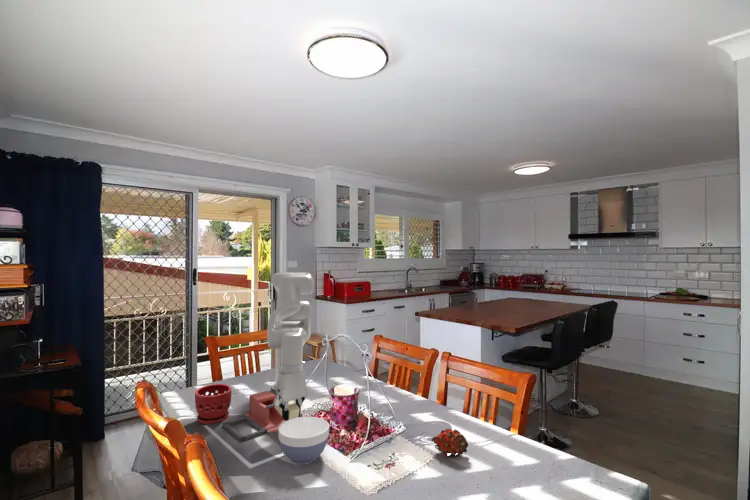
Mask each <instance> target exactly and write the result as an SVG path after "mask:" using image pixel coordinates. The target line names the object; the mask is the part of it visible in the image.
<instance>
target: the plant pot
mask: <svg viewBox="0 0 750 500" xmlns="http://www.w3.org/2000/svg"><path fill="white" fill-rule="evenodd" d="M207 393H208V394H207ZM231 402H232V387H231V385H228V384H224V383H223V384H222V383H215V384H208V385H204V386H201V387H199V388H197V390H195V393H194V403H195V405H194V406H195V409H196V412H197V414H198V415H197V416H196V420H197V421H198V422H199V424H202V425H207V424H215V423H219V422H220V423H221V422H222V421H223V422H224V421H225V420H226V419H228V418H229V416H230V411H229V409H230V406H231Z"/></svg>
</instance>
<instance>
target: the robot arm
mask: <svg viewBox="0 0 750 500" xmlns="http://www.w3.org/2000/svg"><path fill="white" fill-rule="evenodd" d="M271 284H272V286H273V287H274V290H275V291H276V294H277V307H276V309H274V310H273V312H272V313H271V315H270V317H269V319H268V321H267V330H266V331H267V336H266V337H267V338H266V339H267V345H268V347H269V348H271V349H273V350H275V373H274V374H275V377H274V378H275V379H274V381H275V382H274V383H273V384H272V386H271V389H272V390H274V391H275V395H276V398H275V400H274V402H273V404H275V405H277V406H279V407H280V408H282V418H283V419H284V420H285V421H287V420H289V410H287V409H288V403H289V401H292V400H293V401H294V402H295V403H296V405H297V406H298V407H299V408H300V411H299V416H298V417H301V413H302V412H301V410H302V409H301V408H302V406H303V403H304V401H305V400H306V398H307V397H308V396H310V393H309V391H308V390H307V381H306V375H305V369H303V368H304V366H305V365H306V362H305V361H303V357H304V350H303V349H304V345H305V344H306V343H307V341H308V340H309V339H311V335H312V334H311V333H312V305H311V303H310V302H309V301H307V300H301V295H302V296H304V295H312V294H313V293H314V289H315V283H314V277H313V276H312V274H311V273H310V272H288V271H287V272H286V271H285V272H276V273H273V275H272V276H271ZM280 399H281V401H282V402H281V403H280V402H279V401H280Z"/></svg>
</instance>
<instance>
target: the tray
mask: <svg viewBox="0 0 750 500" xmlns="http://www.w3.org/2000/svg"><path fill="white" fill-rule="evenodd" d="M243 422H246V423H247V424H249V425H250V426H252V427H253V428H255V429H256V430H257V431H255V432H251V433H249V434H245V435H243V434H242V433H241V432H239V431H238V430H237V429H236V428H234V427H233V425H236V424H237V425H238V424H240V423H243ZM222 427H223V428H225V430H226V431H228V432H229V433H230V434H231V435H233V436H234V437H235V438H237V439H238V440H239V441H240V442H244V441H248V440H251V439H254V438H257V437H259V436H263V435H267V434H268V431H267V429H265V428H264V427H262V426H261V425H259V424H258V423H256V422H255V421H254V420H252V419H251V418H249V417H248V416H243V417H240V418H237V419H233V420H229V421H225V422H223V423H222Z"/></svg>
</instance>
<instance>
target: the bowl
mask: <svg viewBox="0 0 750 500" xmlns="http://www.w3.org/2000/svg"><path fill="white" fill-rule="evenodd" d="M277 433H278V440H279V446H280V449H281V451H282V453H283V454H284V456H285V457H287V458H288V460H289V459H290V460H289V461H290V462H291V463H292V462H293V464H295V463H296V465H307V464H306V463H308V464H311V463H314V462H315V461H317V460H318V459H319V456H320V455H321V454H322V453H323V452H324V450H325V449H326V446H327V443H328V441H329V439H328V438H329V435H330V424H329V422H328V421H327V420H326V419H324V418H321V417H316V416H300V417H297V418H293V419H290V420H287V421H285V422H284V423H282V424H281V425H280V426H279V429H278V431H277ZM313 461H314V462H313Z"/></svg>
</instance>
